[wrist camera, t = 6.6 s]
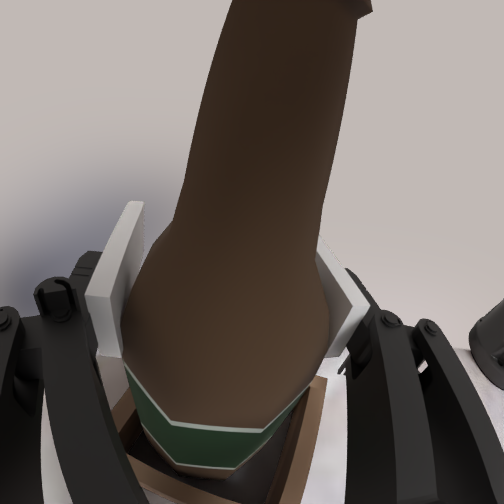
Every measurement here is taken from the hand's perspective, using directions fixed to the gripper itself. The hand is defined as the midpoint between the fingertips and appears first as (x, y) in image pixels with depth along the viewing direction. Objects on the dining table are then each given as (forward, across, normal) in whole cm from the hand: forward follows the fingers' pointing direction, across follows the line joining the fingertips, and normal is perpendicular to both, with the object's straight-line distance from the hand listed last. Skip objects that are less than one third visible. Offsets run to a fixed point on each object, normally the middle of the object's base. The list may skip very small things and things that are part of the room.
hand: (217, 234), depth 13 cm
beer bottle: (-5, 0, -13) cm, 14 cm away
